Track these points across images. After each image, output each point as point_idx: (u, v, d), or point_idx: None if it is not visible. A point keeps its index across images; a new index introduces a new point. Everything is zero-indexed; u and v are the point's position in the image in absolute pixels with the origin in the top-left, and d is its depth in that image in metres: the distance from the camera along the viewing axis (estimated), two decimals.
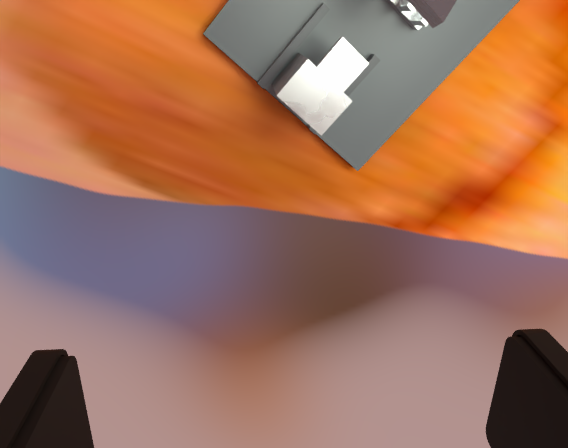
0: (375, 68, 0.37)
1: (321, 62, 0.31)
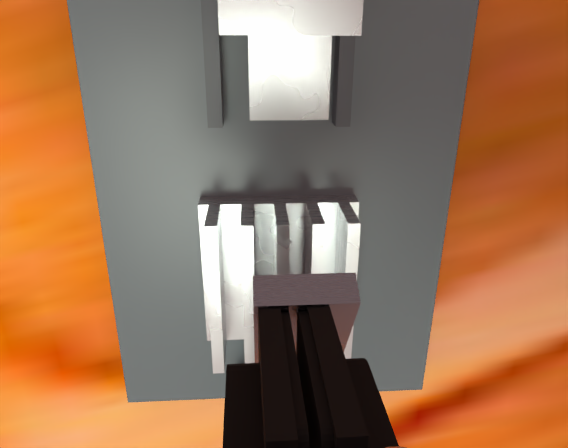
0: (199, 110, 0.20)
1: (329, 50, 0.14)
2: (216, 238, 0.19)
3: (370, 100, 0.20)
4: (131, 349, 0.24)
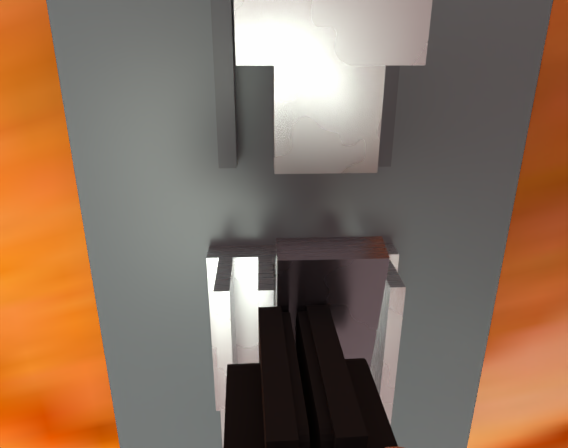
0: (208, 145, 0.17)
1: (381, 84, 0.11)
2: (228, 305, 0.15)
3: (414, 133, 0.17)
4: (128, 417, 0.21)
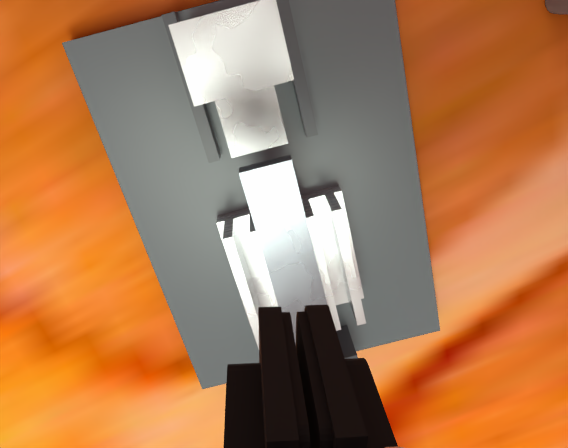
0: (199, 150, 0.25)
1: (275, 95, 0.19)
2: (234, 246, 0.24)
3: (330, 108, 0.25)
4: (194, 346, 0.30)
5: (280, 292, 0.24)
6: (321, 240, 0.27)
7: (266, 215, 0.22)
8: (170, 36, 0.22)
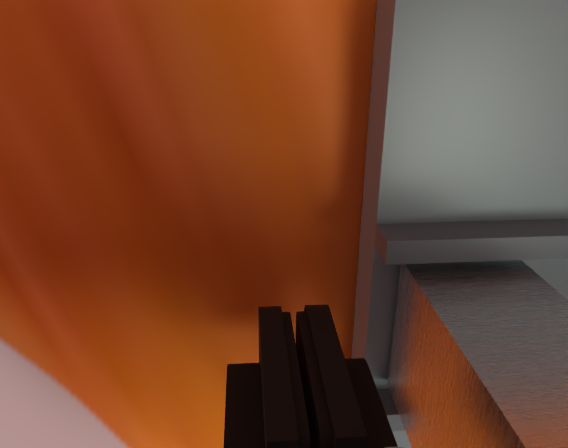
0: None
1: None
2: None
3: None
4: None
5: None
6: None
7: None
8: (403, 428, 0.13)
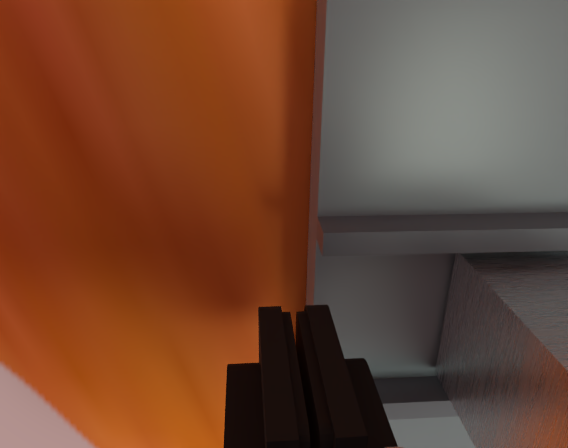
0: None
1: None
2: None
3: None
4: None
5: None
6: None
7: None
8: None
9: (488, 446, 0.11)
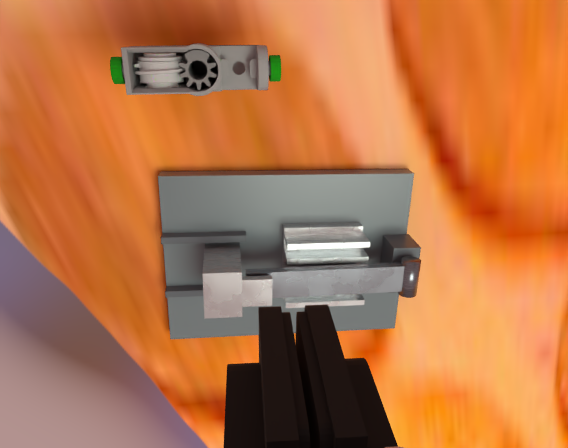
0: None
1: (247, 280, 0.38)
2: (291, 303, 0.42)
3: (235, 220, 0.42)
4: (362, 325, 0.48)
5: (323, 292, 0.40)
6: None
7: (273, 291, 0.40)
8: (176, 296, 0.43)
9: None
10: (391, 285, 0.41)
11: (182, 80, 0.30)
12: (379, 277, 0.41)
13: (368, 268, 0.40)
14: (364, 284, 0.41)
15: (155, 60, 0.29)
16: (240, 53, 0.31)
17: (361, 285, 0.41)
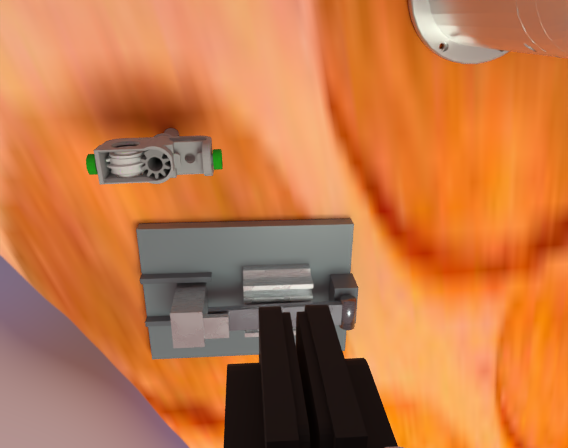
0: None
1: (207, 318, 0.46)
2: (249, 333, 0.50)
3: (202, 263, 0.50)
4: None
5: None
6: None
7: (231, 325, 0.48)
8: (154, 325, 0.51)
9: None
10: None
11: (144, 169, 0.38)
12: None
13: None
14: None
15: (121, 158, 0.37)
16: (190, 147, 0.38)
17: None
